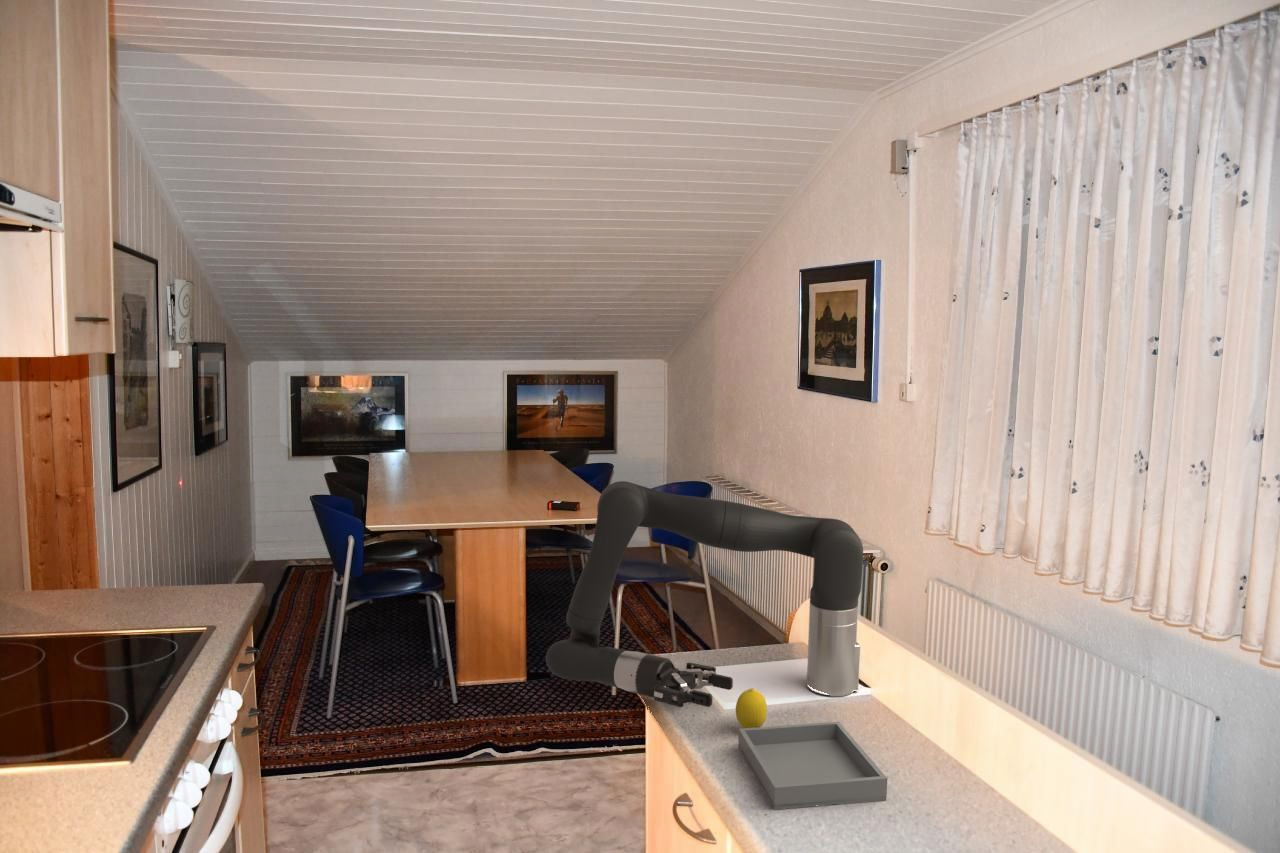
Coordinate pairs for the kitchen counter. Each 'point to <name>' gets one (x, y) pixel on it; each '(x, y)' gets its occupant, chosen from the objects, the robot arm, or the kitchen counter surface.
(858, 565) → the robot arm
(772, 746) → the tray
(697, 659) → the kitchen counter surface
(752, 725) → the lemon
